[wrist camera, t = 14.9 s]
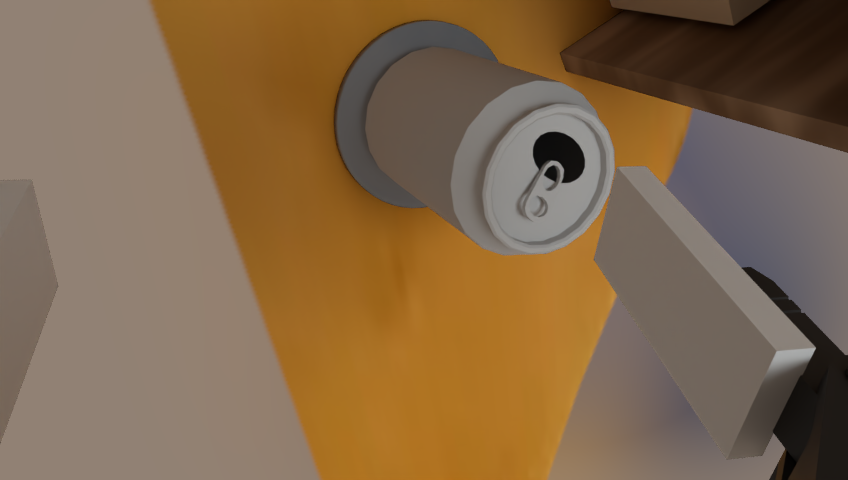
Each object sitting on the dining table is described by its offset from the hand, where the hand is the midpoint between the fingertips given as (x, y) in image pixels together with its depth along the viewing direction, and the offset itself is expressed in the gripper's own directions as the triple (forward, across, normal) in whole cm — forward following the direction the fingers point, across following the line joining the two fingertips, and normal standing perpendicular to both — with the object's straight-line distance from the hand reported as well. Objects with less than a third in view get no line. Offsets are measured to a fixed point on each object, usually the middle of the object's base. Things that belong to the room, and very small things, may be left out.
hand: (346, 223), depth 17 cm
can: (+21, +6, -7) cm, 23 cm away
